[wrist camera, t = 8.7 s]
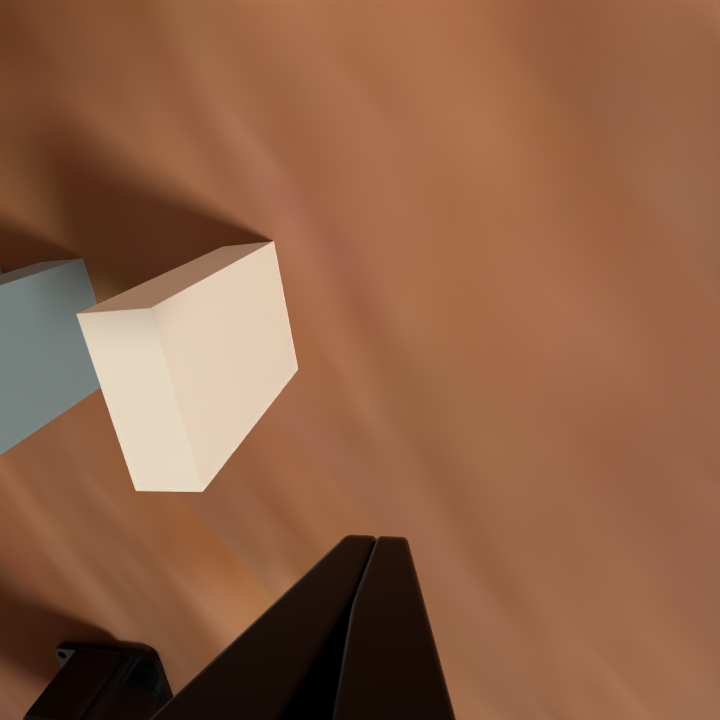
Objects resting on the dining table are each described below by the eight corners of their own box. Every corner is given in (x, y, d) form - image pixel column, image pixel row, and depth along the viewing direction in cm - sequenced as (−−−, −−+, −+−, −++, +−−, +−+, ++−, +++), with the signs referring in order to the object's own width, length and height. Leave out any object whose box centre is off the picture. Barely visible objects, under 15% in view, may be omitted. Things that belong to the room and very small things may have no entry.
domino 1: (83, 258, 22) (-118, 324, 14) (119, 374, 24) (-44, 485, 16) (41, 261, 22) (-175, 328, 15) (79, 375, 24) (-96, 483, 17)
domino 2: (273, 241, 20) (150, 308, 13) (298, 369, 22) (202, 491, 14) (223, 246, 20) (76, 313, 13) (251, 371, 22) (135, 490, 15)
